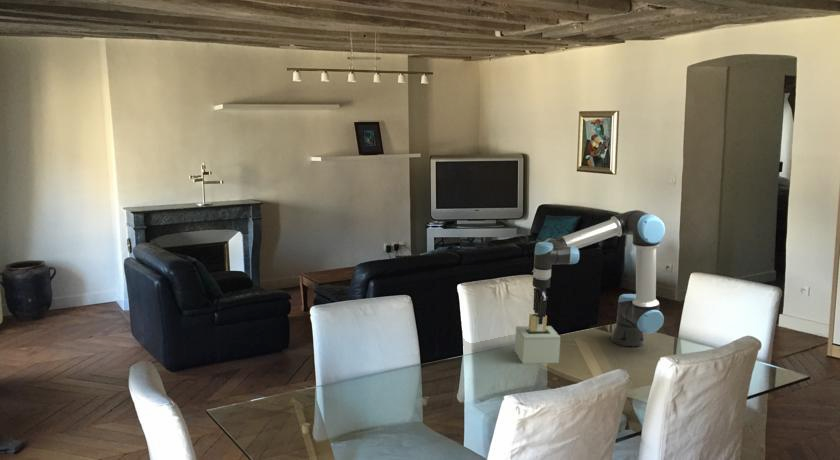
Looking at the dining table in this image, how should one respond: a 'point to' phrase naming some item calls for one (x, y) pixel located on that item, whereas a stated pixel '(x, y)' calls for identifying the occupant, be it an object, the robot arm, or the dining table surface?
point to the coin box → (537, 345)
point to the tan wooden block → (534, 321)
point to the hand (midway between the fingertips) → (538, 329)
